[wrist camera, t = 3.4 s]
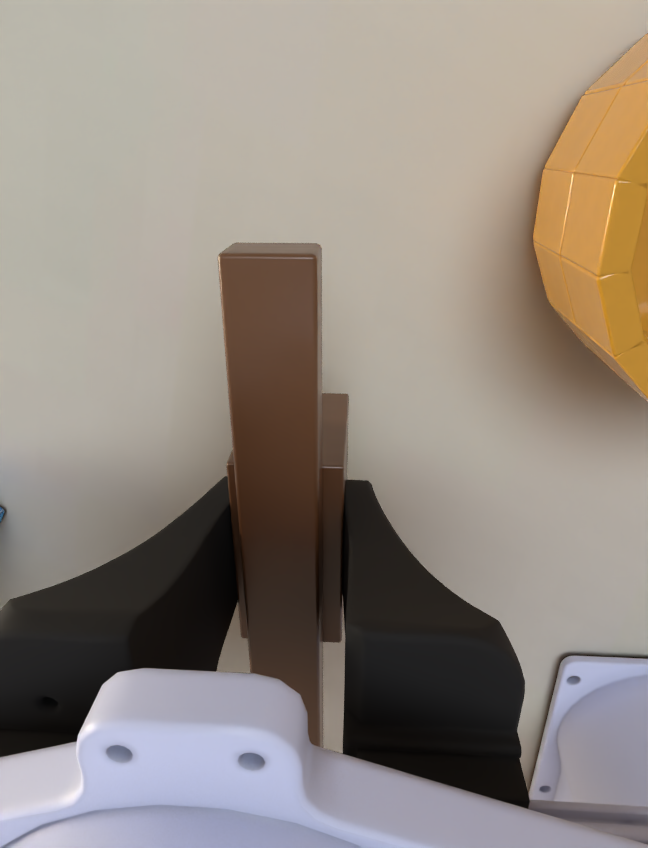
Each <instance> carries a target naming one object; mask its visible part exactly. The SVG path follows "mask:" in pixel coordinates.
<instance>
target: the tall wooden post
mask: <svg viewBox="0 0 648 848" xmlns="http://www.w3.org/2000/svg"><path fill="white" fill-rule="evenodd" d="M218 267H219V280H220V292H221V305H222V318H223V330H224V343H225V356H226V368H227V381H228V394H229V406H230V419H231V432H232V444H233V450H232V452H231V455H230V457H229V459H228V462H227V464H226V465H227V477H228V489H229V500H230V512H231V524H232V535H233V547H234V559H235V570H236V582H237V594H238V605H239V617H240V629H241V637H242V638H248V647H249V660H250V672H251V673H256V674H260V675H264V676H268V677H272V678H277V679H280V680H281V681H282V682H284V683H285V684H286V685H288V686H289V687H290V688H292V689H293V690H295V691H296V692H297V693H299V694H300V695H301V698H302V700H303V703H304V705H305V708H306V710H307V713H308V735H309V740H310V742H311V744H313V745H315V746H318V747H322V748H323V642H338V643H339V642H341V640H342V621H343V544H344V496H345V483H346V480H347V460H348V404H349V396H348V394H331V393H322V248H321V246H320V245H319V244H317V243H234V244H232V245H231V246H229V247H228V248H227V249H225V250H224V251H223V252H221V253H220V254H219V256H218Z"/></svg>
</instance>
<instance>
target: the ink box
mask: <svg viewBox="0 0 648 848" xmlns="http://www.w3.org/2000/svg"><path fill="white" fill-rule="evenodd" d="M3 515H4V509H3V508H1V507H0V522H1V520H2V518H3Z"/></svg>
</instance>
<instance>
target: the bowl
mask: <svg viewBox="0 0 648 848" xmlns="http://www.w3.org/2000/svg"><path fill="white" fill-rule="evenodd" d="M533 241H534V243H533V244H534V248H535V252H536V256H537V260H538V264H539V268H540V272H541V276H542V279H543V283H544V287H545V291H546V295H547V299H548V301H549V302H550V305H551V306H552V307H553V308H554V310H555V311H556V312H557V313H558V314H559V316H560V317H561V318H562V319H563V320H564V321H565V323H566V324H567V325H568V326H569V327H570V329H571V330H572V331H573V332H574V333H575V334H576V336H577V337H578V338H579V339H580V340H581V341H582V343H583V344H584V345H585V346H586V347H587V348H588V349H590V350H591V351H592V352H593V353H594V354H595V355H596V356H597V357H598V358H600V359H601V360H602V361H603V362H604V363H605V364H606V365H607V366H608V367H609V368H611V369H612V370H613V371H614V372H615V373H616V374H617V375H618V376H619V377H620V378H621V379H622V380H624V381H625V382H626V383H627V384H628V385H629V386H630V387H631V388H632V389H633V390H635V391H636V392H637V393H638V394H639V395H640V396H641V397H642V398H643V399H644V400H646V401H647V402H648V33H647V34H646V35H645V36H644V37H643V38H642V39H640V40H639V41H638V42H637V43H636V44H635V45H634V46H633V47H632V48H631V49H630V50H629V51H628V52H627V53H626V54H625V55H624V56H623V57H622V58H620V59H619V60H618V61H617V62H616V63H615V64H614V65H613V66H612V67H611V68H610V69H609V70H608V71H607V72H606V73H605V74H604V75H603V76H602V77H601V78H599V79H598V80H597V81H596V82H595V83H594V84H593V85H592V86H591V87H590V88H589V89H588V90H587V91H586V93H585V95H583V96H582V97H581V99H580V101H579V103H578V105H577V107H576V108H575V110H574V112H573V114H572V116H571V118H570V120H569V121H568V123H567V125H566V127H565V129H564V131H563V133H562V135H561V136H560V138H559V140H558V142H557V144H556V146H555V148H554V150H553V151H552V153H551V155H550V157H549V159H548V161H547V163H546V164H545V169H544V170H543V173H542V180H541V187H540V194H539V200H538V207H537V214H536V221H535V227H534V234H533Z"/></svg>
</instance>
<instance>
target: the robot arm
mask: <svg viewBox="0 0 648 848" xmlns="http://www.w3.org/2000/svg"><path fill="white" fill-rule="evenodd" d="M237 602H238V594H237V582H236V570H235V559H234V547H233V535H232V524H231V512H230V500H229V489H228V477H227V476H225V477H224V478H223V479H222V480H220V481H219V482H218V483H217V484H216V485H215V486H214V487H213V488H211V489H210V490H209V491H208V492H207V493H206V494H205V495H204V496H203V497H202V498H200V499H199V500H198V501H197V502H196V503H195V504H194V505H193V506H191V507H190V508H189V509H188V510H187V511H186V512H184V513H183V514H182V515H181V516H179V517H178V518H177V519H175V520H174V521H173V522H172V523H170V524H169V525H168V526H166V527H165V528H164V529H163V530H161V531H160V532H158V533H157V534H156V535H154V536H153V537H151V538H150V539H148V540H147V541H145V542H144V543H142V544H140V545H139V546H137V547H135V548H134V549H132V550H131V551H129V552H127V553H125V554H123V555H121V556H120V557H118V558H116V559H114V560H112V561H110V562H108V563H106V564H104V565H102V566H100V567H98V568H96V569H94V570H92V571H89V572H87V573H85V574H82V575H80V576H78V577H75V578H73V579H70V580H68V581H65V582H63V583H60V584H57V585H55V586H52V587H49V588H46V589H43V590H39V591H36V592H33V593H30V594H27V595H24V596H20V597H17V598H13V599H10V600H9V601H8V602H7V603H6V605H5V606H4V607H3V608H2V609H1V611H0V848H648V659H643V658H620V657H598V656H575V655H574V656H569V657H566V658H565V659H563V660H562V662H561V664H560V668H559V672H558V676H557V680H556V684H555V688H554V692H553V696H552V701H551V705H550V709H549V713H548V717H547V721H546V725H545V729H544V733H543V738H542V742H541V746H540V750H539V754H538V758H537V762H536V766H535V771H534V775H533V779H532V783H531V787H530V791H529V795H528V791H527V787H526V783H525V780H524V776H523V772H522V768H521V764H520V760H519V758H520V757H521V745H520V741H519V737H518V733H517V727H518V723H519V718H520V713H521V708H522V704H523V699H524V693H525V680H524V677H523V673H522V669H521V666H520V663H519V661H518V658H517V656H516V653H515V651H514V649H513V647H512V645H511V643H510V641H509V639H508V637H507V635H506V633H505V631H504V629H503V627H502V626H501V624H500V622H499V621H498V620H496V619H495V618H493V617H491V616H489V615H488V614H486V613H484V612H482V611H481V610H479V609H477V608H476V607H474V606H472V605H470V604H469V603H467V602H466V601H464V600H463V599H462V598H460V597H459V596H457V595H456V594H454V593H453V592H452V591H450V590H449V589H448V588H447V587H445V586H444V585H443V584H442V583H441V582H439V581H438V580H437V579H436V578H435V577H434V576H433V575H431V574H430V573H429V572H428V571H427V570H426V569H425V568H424V567H423V566H422V565H421V564H420V562H419V561H418V560H417V559H416V558H415V557H414V556H413V554H412V553H411V552H410V551H409V550H408V548H407V547H406V546H405V544H404V543H403V542H402V540H401V539H400V538H399V536H398V535H397V533H396V532H395V530H394V529H393V527H392V526H391V524H390V522H389V521H388V519H387V517H386V516H385V514H384V512H383V510H382V508H381V506H380V504H379V502H378V500H377V498H376V496H375V493H374V490H373V487H372V484H371V483H370V482H369V481H362V480H346V483H345V496H344V544H343V606H344V620H345V635H346V639H345V691H344V728H343V754H342V753H338V752H335V751H332V750H328V749H325V748H322V747H318V746H315V745H313V744H311V742H310V740H309V735H308V713H307V710H306V708H305V705H304V703H303V700H302V698H301V695H300V694H299V693H297V692H296V691H295V690H293V689H292V688H290V687H289V686H288V685H286V684H285V683H284V682H282V681H281V680H280V679H277V678H272V677H268V676H264V675H260V674H256V673H236V672H216V670H217V665H218V661H219V657H220V654H221V650H222V647H223V643H224V640H225V638H226V635H227V632H228V629H229V626H230V623H231V620H232V617H233V614H234V611H235V608H236V605H237ZM571 676H573V677H571Z"/></svg>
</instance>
